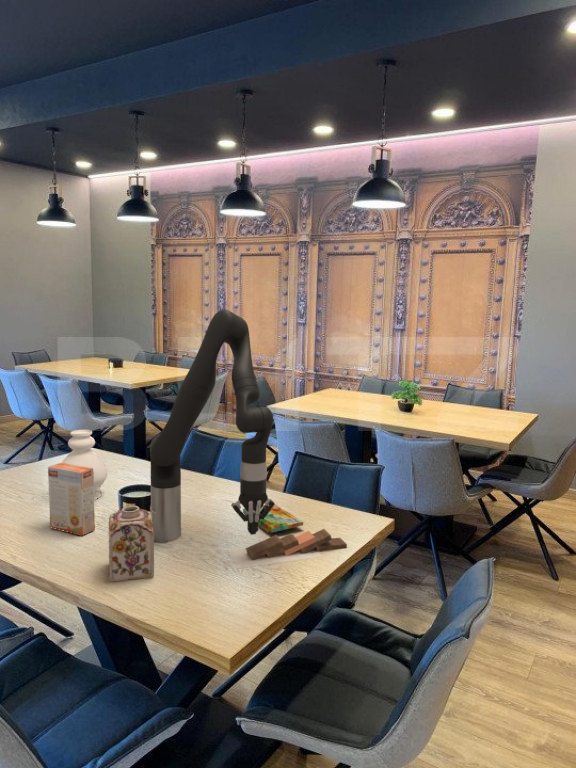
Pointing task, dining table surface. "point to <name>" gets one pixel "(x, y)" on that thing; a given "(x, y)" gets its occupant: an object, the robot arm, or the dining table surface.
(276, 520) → the puzzle game
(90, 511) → the cracker box
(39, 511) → the dining table surface
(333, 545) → the domino
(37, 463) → the dining table surface
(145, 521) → the decorative jar
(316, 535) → the domino
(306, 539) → the domino
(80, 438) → the decorative vase
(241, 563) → the mat
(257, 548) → the domino
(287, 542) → the domino
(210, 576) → the dining table surface
